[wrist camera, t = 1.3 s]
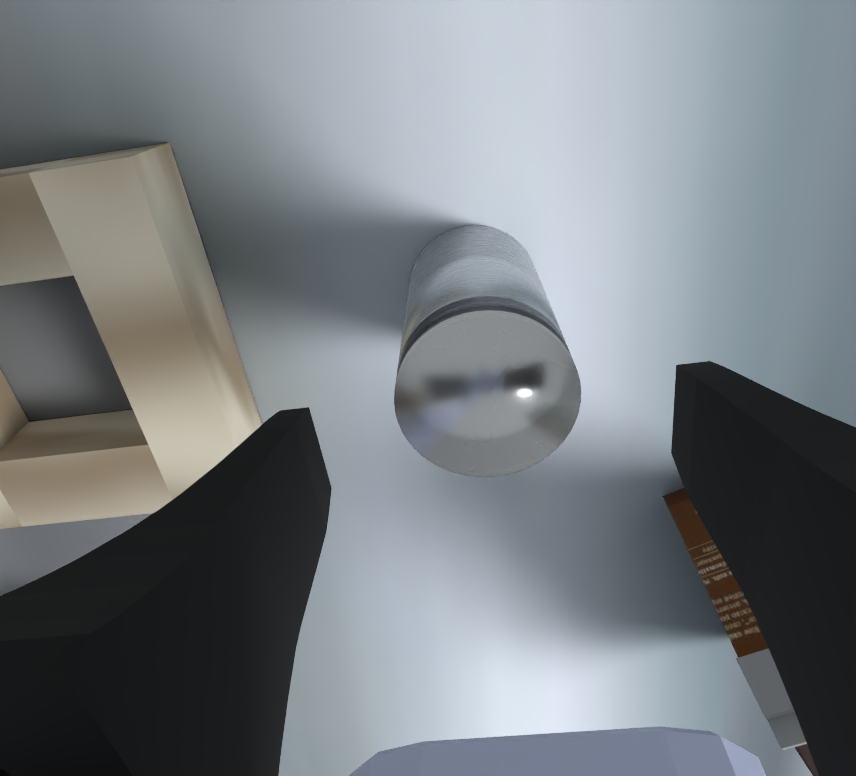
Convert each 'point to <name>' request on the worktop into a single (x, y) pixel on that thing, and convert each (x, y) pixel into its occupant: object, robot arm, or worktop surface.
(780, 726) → the food container
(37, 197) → the board
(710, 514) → the robot arm
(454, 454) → the silver metal cylinder
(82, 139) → the worktop surface
